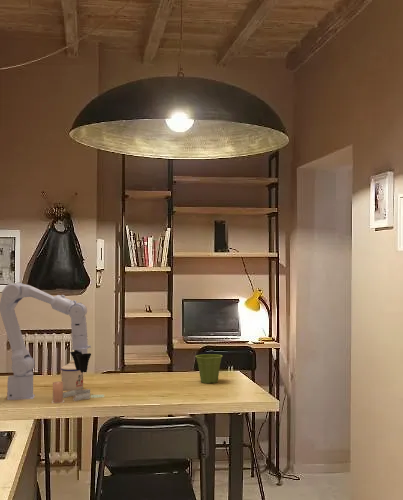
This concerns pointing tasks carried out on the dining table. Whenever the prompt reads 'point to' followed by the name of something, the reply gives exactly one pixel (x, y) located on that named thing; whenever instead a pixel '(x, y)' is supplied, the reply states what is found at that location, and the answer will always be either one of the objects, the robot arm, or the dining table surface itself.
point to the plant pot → (209, 367)
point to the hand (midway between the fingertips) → (81, 370)
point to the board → (91, 397)
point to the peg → (57, 392)
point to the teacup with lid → (71, 377)
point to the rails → (77, 394)
